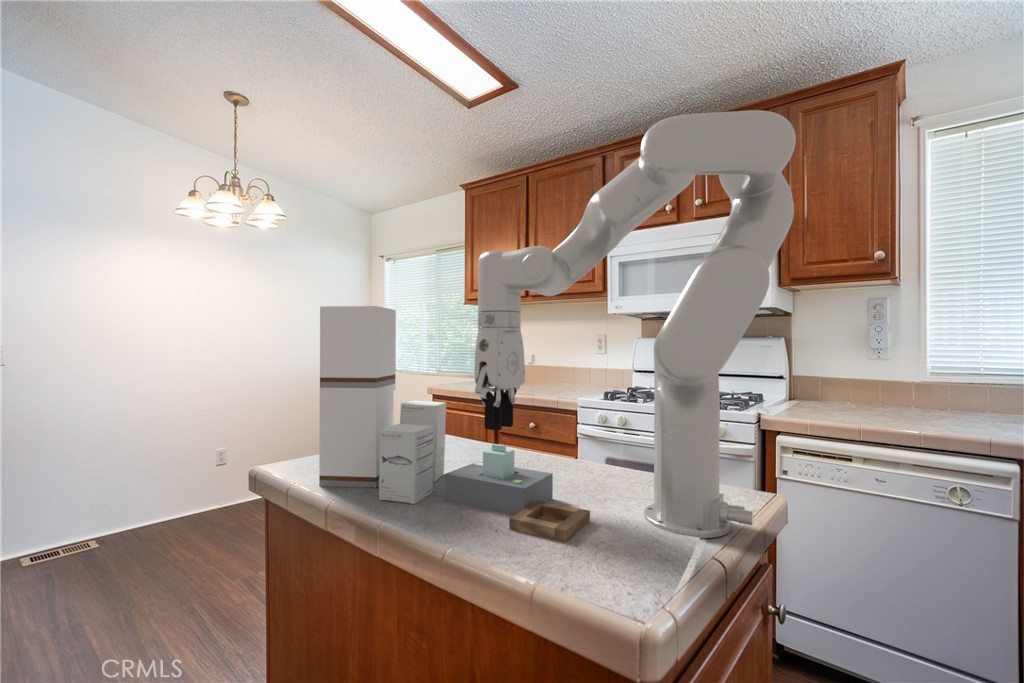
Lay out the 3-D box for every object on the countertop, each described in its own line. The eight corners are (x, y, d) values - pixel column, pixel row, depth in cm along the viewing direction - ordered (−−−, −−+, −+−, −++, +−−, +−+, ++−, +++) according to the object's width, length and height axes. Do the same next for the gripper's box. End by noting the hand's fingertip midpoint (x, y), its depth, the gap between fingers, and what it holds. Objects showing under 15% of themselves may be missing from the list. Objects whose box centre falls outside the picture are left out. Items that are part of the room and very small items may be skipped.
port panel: (552, 501, 82) (552, 471, 82) (524, 520, 74) (524, 486, 74) (477, 487, 90) (477, 459, 90) (444, 502, 82) (445, 472, 82)
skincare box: (397, 480, 95) (397, 403, 95) (408, 471, 101) (409, 399, 101) (437, 482, 94) (437, 404, 94) (446, 473, 100) (446, 400, 100)
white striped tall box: (395, 472, 100) (395, 310, 101) (375, 487, 90) (376, 306, 90) (344, 471, 102) (344, 310, 102) (319, 486, 91) (320, 306, 91)
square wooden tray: (589, 525, 72) (590, 510, 72) (565, 546, 64) (565, 530, 64) (537, 513, 76) (537, 500, 76) (509, 533, 69) (509, 518, 69)
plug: (514, 495, 83) (514, 444, 83) (502, 501, 79) (502, 448, 79) (494, 491, 85) (495, 441, 85) (482, 498, 81) (482, 446, 81)
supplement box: (377, 501, 83) (377, 429, 83) (399, 488, 90) (399, 422, 90) (414, 505, 80) (415, 431, 80) (434, 492, 87) (434, 424, 87)
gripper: (491, 320, 73) (491, 438, 73) (539, 324, 87) (539, 423, 87) (453, 321, 77) (453, 433, 77) (505, 325, 91) (505, 419, 91)
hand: (499, 426), depth 82 cm, fingers open, 3 cm apart
